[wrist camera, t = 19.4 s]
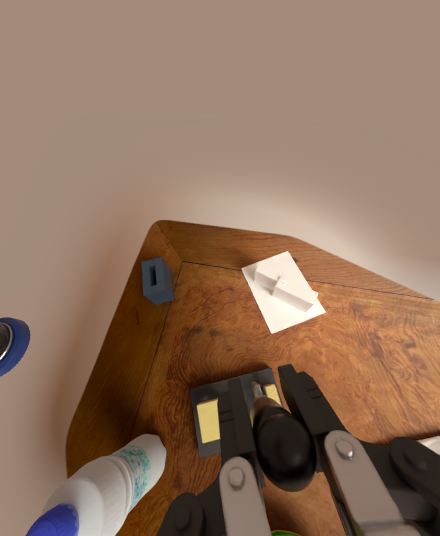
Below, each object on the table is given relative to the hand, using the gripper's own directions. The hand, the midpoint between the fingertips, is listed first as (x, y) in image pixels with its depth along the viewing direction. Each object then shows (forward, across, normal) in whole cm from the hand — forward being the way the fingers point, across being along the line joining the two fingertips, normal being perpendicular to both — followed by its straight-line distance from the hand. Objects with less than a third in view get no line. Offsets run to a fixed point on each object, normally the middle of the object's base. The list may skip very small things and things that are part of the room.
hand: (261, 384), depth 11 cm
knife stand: (+34, +13, +5) cm, 37 cm away
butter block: (+16, +6, +21) cm, 27 cm away
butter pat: (+15, -3, +21) cm, 26 cm away
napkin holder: (+29, -11, +10) cm, 33 cm away
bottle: (+15, +18, +25) cm, 34 cm away
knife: (+9, 0, +12) cm, 15 cm away
